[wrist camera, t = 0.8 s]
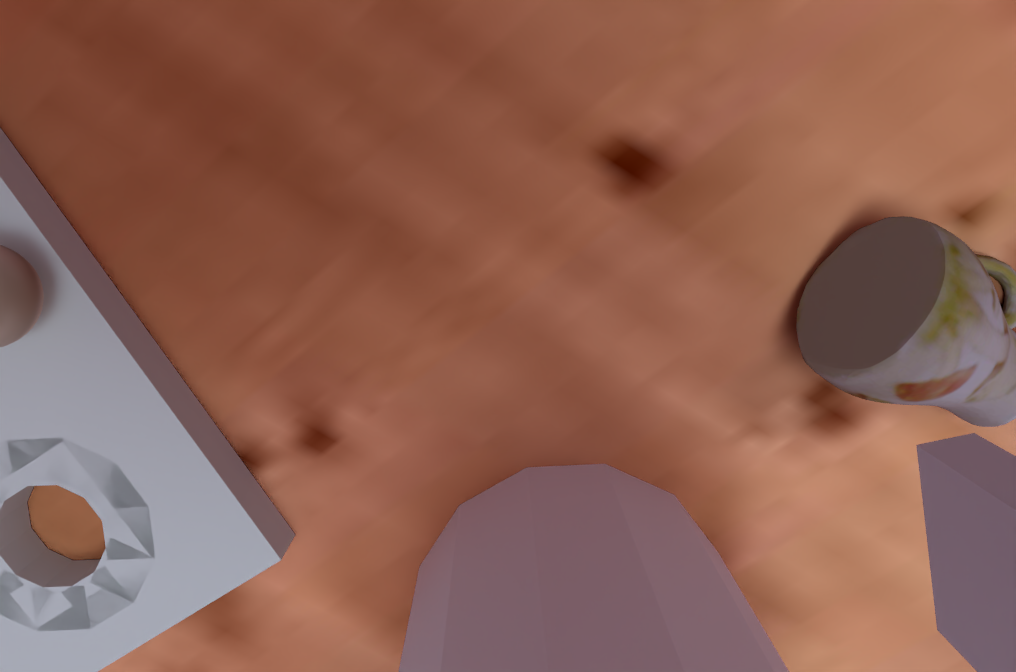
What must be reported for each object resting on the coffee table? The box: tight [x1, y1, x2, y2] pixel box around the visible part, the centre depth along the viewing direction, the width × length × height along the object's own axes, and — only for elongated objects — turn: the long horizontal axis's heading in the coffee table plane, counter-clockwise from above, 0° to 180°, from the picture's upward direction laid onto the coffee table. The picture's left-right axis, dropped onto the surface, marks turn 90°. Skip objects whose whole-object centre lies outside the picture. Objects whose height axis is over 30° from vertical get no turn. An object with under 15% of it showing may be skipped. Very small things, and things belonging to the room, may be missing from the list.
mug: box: [797, 217, 1016, 427], centre depth 33 cm, size 8×10×10 cm
